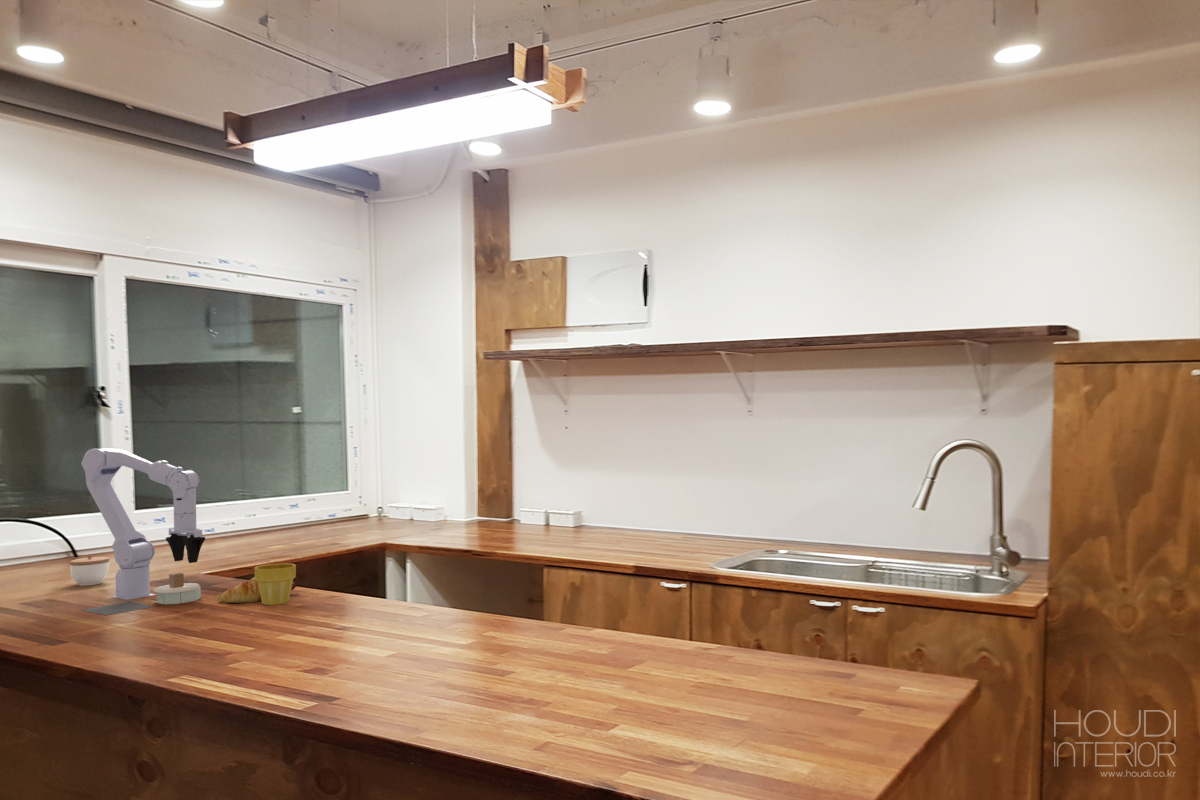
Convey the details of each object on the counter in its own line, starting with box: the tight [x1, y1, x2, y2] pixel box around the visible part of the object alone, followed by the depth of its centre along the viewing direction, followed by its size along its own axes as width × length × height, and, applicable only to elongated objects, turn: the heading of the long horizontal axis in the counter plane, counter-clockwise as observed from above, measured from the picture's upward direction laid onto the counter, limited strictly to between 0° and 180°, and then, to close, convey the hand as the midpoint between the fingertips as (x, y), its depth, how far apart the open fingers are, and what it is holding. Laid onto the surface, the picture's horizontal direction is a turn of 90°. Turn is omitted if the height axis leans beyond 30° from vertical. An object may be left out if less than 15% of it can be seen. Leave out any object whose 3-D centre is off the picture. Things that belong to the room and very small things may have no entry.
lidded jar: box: [69, 553, 110, 587], centre depth 269 cm, size 11×11×9 cm
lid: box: [153, 572, 200, 595], centre depth 232 cm, size 11×11×4 cm
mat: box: [82, 601, 155, 616], centre depth 223 cm, size 14×12×1 cm
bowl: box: [156, 586, 202, 605], centre depth 232 cm, size 10×10×4 cm
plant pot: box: [254, 562, 297, 606], centre depth 227 cm, size 10×10×10 cm
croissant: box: [216, 576, 297, 604], centre depth 233 cm, size 21×10×8 cm, turn 132°
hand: (185, 561), depth 240 cm, fingers open, 7 cm apart
